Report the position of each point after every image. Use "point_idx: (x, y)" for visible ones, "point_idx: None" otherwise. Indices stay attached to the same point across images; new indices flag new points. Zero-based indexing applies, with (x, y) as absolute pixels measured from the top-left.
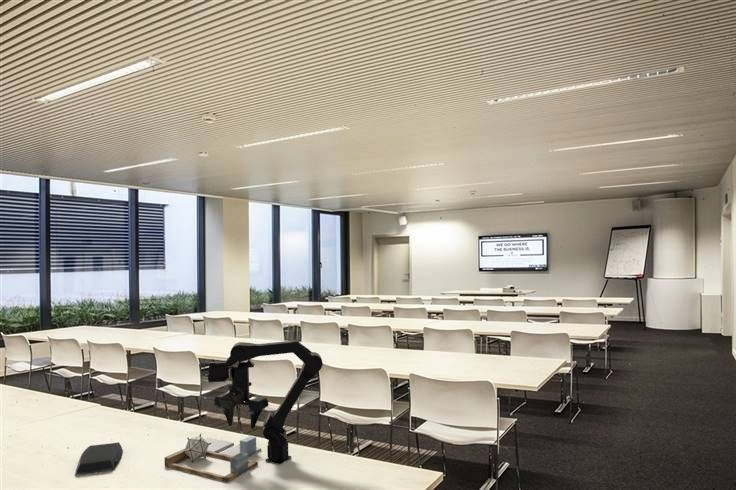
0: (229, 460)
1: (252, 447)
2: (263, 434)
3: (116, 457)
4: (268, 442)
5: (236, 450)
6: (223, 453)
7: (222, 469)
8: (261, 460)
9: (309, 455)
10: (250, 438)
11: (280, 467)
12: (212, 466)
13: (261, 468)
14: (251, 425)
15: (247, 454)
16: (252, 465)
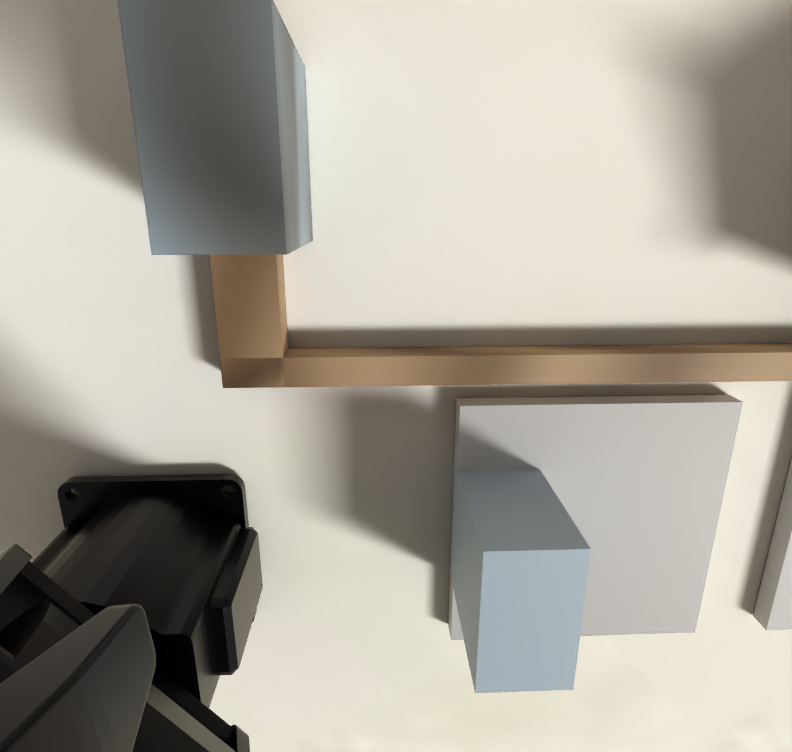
0: (565, 346)
1: (462, 574)
2: (33, 635)
3: None
4: (180, 626)
5: (629, 517)
6: (705, 413)
7: (486, 145)
8: (292, 477)
9: None
10: (511, 643)
11: (18, 436)
12: (635, 158)
13: (152, 343)
14: (52, 667)
15: (153, 242)
16: (216, 306)
